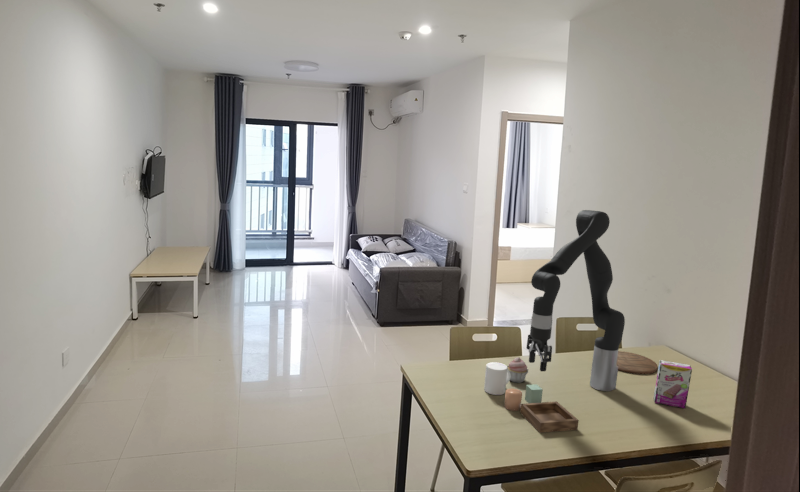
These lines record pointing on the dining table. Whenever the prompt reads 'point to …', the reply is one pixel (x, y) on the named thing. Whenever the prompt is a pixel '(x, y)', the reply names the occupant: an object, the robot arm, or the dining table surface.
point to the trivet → (635, 363)
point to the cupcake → (517, 370)
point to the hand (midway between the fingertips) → (537, 366)
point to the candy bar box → (672, 384)
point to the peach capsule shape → (513, 399)
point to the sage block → (533, 394)
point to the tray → (549, 417)
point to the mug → (496, 378)
